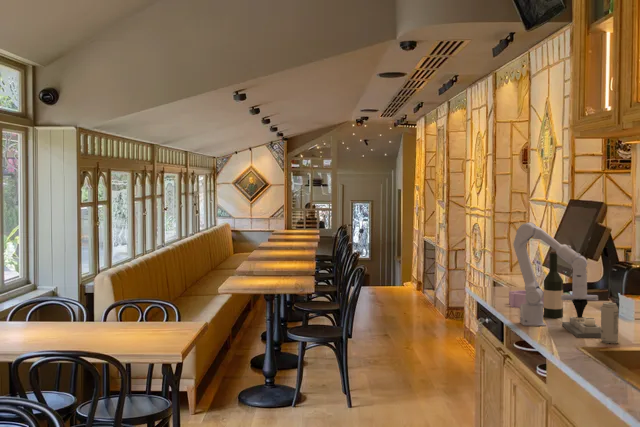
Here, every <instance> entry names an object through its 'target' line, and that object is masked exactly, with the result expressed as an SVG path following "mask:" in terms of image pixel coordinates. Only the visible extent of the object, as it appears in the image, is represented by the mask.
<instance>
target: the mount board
mask: <svg viewBox="0 0 640 427" xmlns="http://www.w3.org/2000/svg"><path fill="white" fill-rule="evenodd" d="M574 317H575V316H569V321H562V322H561V325H562V327H563V326H564V327H563V328H564V329H565V330H567V331H568V332H569V333H571V334H572V335H574V336H575V337H576V338H578V339H579V338H582V339H583V338H585V339H587V338H588V339H589V338H591V339H592V338H595V339H601V325H598V324H597V323H595V326H586V325H585V323H580V322H579V321H580V320H585V319H574ZM583 317H584V318H587V317H586V316H583Z"/></svg>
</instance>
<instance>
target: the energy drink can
mask: <svg viewBox="0 0 640 427" xmlns="http://www.w3.org/2000/svg"><path fill="white" fill-rule="evenodd" d="M600 312H601V313H600V314H601V316H600V323H601V324H600V327H601V338H600V340H602V343H605V344H609V343H614V344H617V343H616V342H618V341H619V307H618V305H617V303H616V302H611V301H609V302H608V301H605V302H603V303H602V305H601V309H600Z"/></svg>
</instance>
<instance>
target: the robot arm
mask: <svg viewBox="0 0 640 427" xmlns="http://www.w3.org/2000/svg"><path fill="white" fill-rule="evenodd" d="M530 239H535V240H541V241H542V242H544V243H545V244H547V245H548V246H549V247H551V248H552V249H553V250H554V251H556V253H557V257H559V258H560V259H562V260H563V261H565V263H567V264H568V265H570V266H571V268H572V277H571V279H572V284H571V286H572V289H571V290H572V294H563V295H561V300H563V301H571V302H572V304H573V306H574V308H575V311H576V317H578V318H582V317H583V315H584V311H585V309H586V307H587V305H588V302H589V301H599V295H597V294H588V274H587V273H588V270H587V267H588V260H587V258H586V257H585V256H584V255H581V253H579V252H577V251H575V250H574V249H573V248H572V246H571V245H569V244H568V245H567V244H565V243H563V244H561V243H560V242H558V241H557V240H556V239H555V238H554V237H553V236H552V235H550V234H549V233H547V232H546V231H545V230H544V229H542V228H541V227H540V226H538V225H536V223H533V222H526V223H523V224H521V225H520V226H519V227H518V228H517V230H516V232H515V237H514V240H513V243H512V244H513V248H514V252H515V256H516V259H517V261H518V264H519V269H520V272H521V275H522V278H523V282H524V290H525V291H526V295H525V299H526V304H521V305H520V308H519V317H520V318H519V323H521V325H522V326H536V327H537V326H538V327H539V326H540V327H541V326H542V327H543V326H546V325H547V324H546V323H545V322H544V308H543V302H542V300H541V299H542V298H543V296H544V293H543V291H544V290H543V289H542V288H541V287H540V284H539V282H538V281H537V279H536V275H535V272H534V269H533V265H532V262H531V259H530V255H529V252H528V249H527V244H529V241H530Z"/></svg>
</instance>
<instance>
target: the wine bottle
mask: <svg viewBox="0 0 640 427" xmlns="http://www.w3.org/2000/svg"><path fill="white" fill-rule="evenodd" d="M548 257H549V258H548V259H549V263H548V264H549V269H548V270H549V271H548V273H547V275H546V276H545V278H544V279H543V291H544V308H543V318H547V319H562V318H564V300H561V295H564V280H563V278H562V277H561V275H560V273H559V272H558V255H557V252H556V250H551V251H550V253H549V256H548Z"/></svg>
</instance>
